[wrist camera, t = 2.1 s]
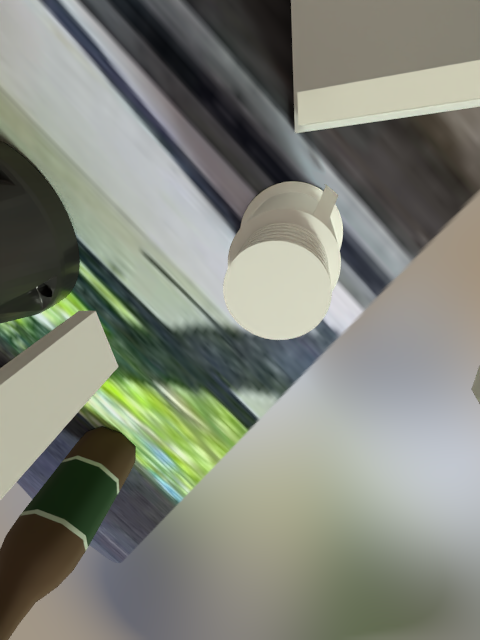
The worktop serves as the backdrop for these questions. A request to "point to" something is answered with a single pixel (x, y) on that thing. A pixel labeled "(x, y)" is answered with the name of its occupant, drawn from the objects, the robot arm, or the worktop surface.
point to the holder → (382, 59)
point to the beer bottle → (61, 522)
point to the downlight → (284, 261)
